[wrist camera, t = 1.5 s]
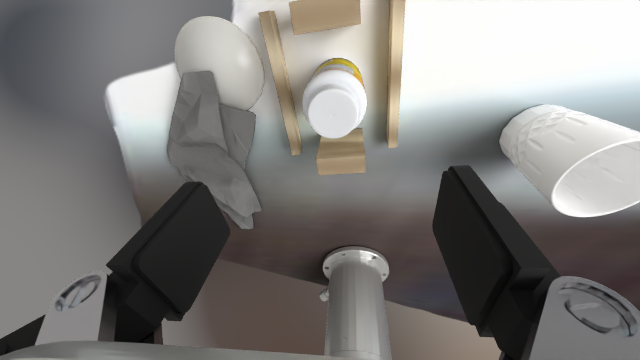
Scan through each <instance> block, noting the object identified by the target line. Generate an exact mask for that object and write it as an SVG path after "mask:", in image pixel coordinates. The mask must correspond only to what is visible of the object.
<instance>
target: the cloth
mask: <svg viewBox="0 0 640 360" xmlns="http://www.w3.org/2000/svg"><path fill="white" fill-rule="evenodd" d="M255 117H256V115H255V114H254V113H253V112H249V111H244V110H240V109H235V108H231V107H227V106H224V105H220V104H219V95H218V91H217V87H216V83H215V79H214V75H213V73H212V72H211V71H198V72H186V73H183V74H182V79H181V83H180V88H179V92H178V97H177V101H176V105H175V108H174V112H173V116H172V121H171V127H170V132H169V140H168V146H167V153H168V156H169V159H170V163H171V164H173V165H175V166H176V167H178V169H179V171H180V173H181V175H182V176H183V177H184V178H186V179H187V180H188V181H189V182H196V181H200V182H203V183H204V184H205V185H207V186H208V188H209V190H210V192H211V194H212V196H213V198H214V199H215V201H216V203H217V205H218V207H219V208H221V209H222V210H224V211H225V212H227V213H228V215H229V216H230V218H231V219H232V220H233V221H234V222H235V223H236V224H238V225H239V226H240V228H241V229H253V218H252V213H254V212H258V211H262V209H261V207H260V204H259V201H258V199H257V196H256V194H255V192H254V190H253V188H252V186H251V184H250V182H249V180H248V178H247V176H246V175H245V164H246V163H245V160H246V158H247V156H248V154H249V151H250V148H251V145H252V141H253V135H254V130H255Z"/></svg>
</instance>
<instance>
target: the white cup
mask: <svg viewBox="0 0 640 360" xmlns="http://www.w3.org/2000/svg"><path fill="white" fill-rule="evenodd" d="M499 143H500V146H501V150H502V152H503V153H504V154H505V155H506V156H507V157H508V158H509V159H510V160H511V161H512V162H513V164H514V165H515V166H516V168H517V169H518V170H519V171H520V172H521V173H522V174H523V175H524V176H525V177H526V179H527V180H528V181H529V182H530V183H531V184H532V185H533V186H534V187H535V188H536V189H537V190H538V191H539V192H540V193H541V194H542V195H543V196H544V197H545V198H546V199H547V200H548V201H549V202H550V203H551V204H552V205H553V206H554V207H555V209H557V210H558V211H559V212H561V213H563V214H566V215H569V216H575V217H593V216H600V215H605V214H609V213H613V212H616V211H619V210H622V209H625V208H627V207H630V206H632V205H634V204H636V203H638V202H640V132H638V131H635V130H632V129H629V128H627V127H624V126H621V125H618V124H615V123H612V122H610V121H607V120H604V119H600V118H597V117H593V116H590V115H588V114H585V113H581V112H577V111H573V110H570V109H567V108H564V107H562V106H558V105H548V104H542V105H539V106H535V107H532V108H528V109H526V110H525V111H523V112H522V113H520V114H518V115H517V116H515V117H514V118H512V120H511V121H510V122H509V123H508V124H507V125H506V127H505V128H504V129H503V131H502V134H501V137H500V140H499Z"/></svg>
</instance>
